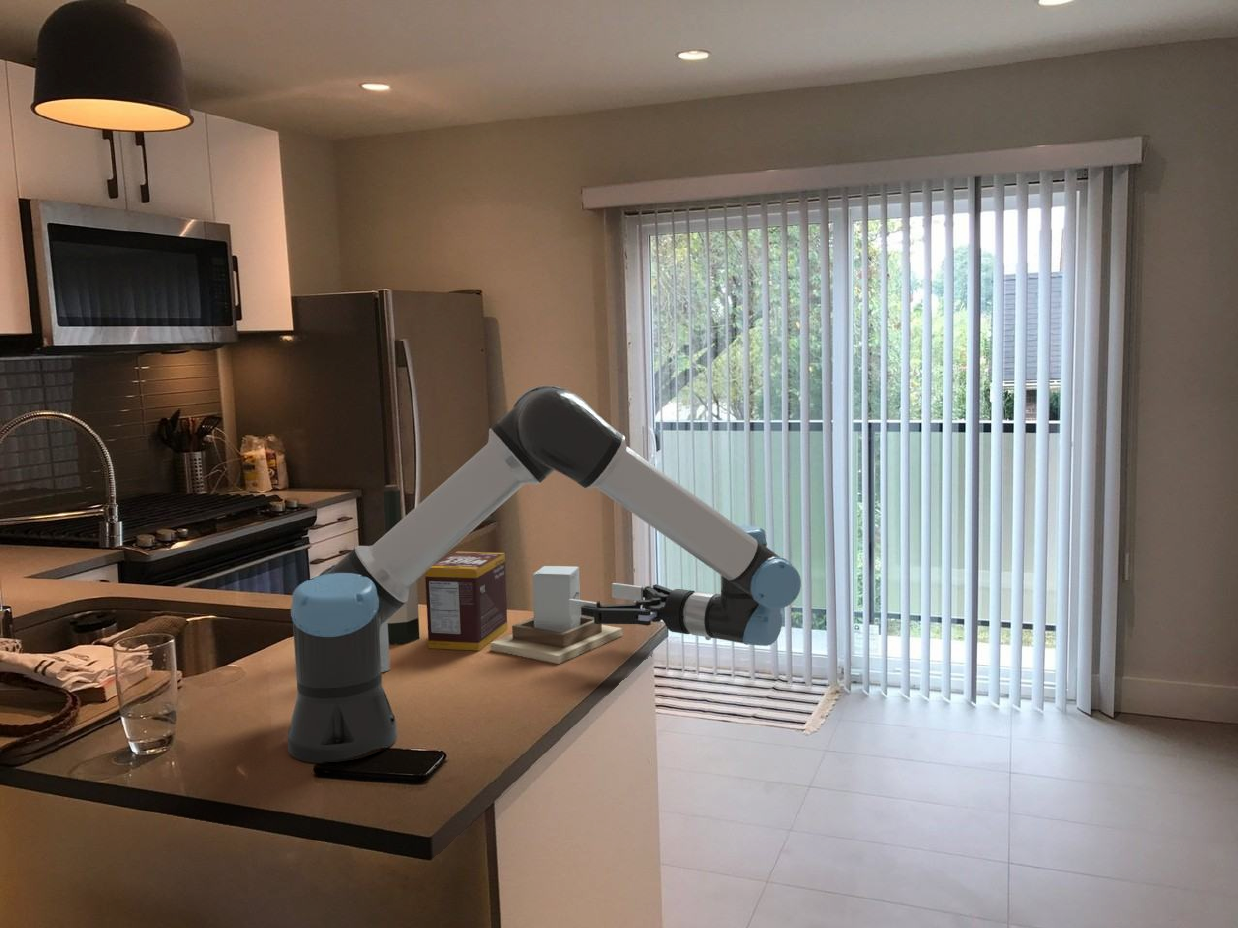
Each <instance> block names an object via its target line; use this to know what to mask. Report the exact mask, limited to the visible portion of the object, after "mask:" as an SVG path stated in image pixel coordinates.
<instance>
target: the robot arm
mask: <svg viewBox="0 0 1238 928" xmlns="http://www.w3.org/2000/svg"><path fill="white" fill-rule="evenodd" d="M486 443H487V444H486V445H484V446H483V447H482V448H481V449H480V450H479V451H477V452H476V453H475V454H474V455H473V456H472V457H471V458H470V459H469V460H468V461H466V462H465V463H463V465H461V467H459V468H458V469H457V470H456V471H455V472H454V473H453V474H452V475H451V476H449V477H448V478H447V479H446V480H445V481H444V482H442V484H440V485H439V486H438V487H437V488H435V490H434V491H432V492H431V493H430V494H429V495H428V496H426V497H425V498H424V499H423V500H422V501H421V502H420V503H419V504H418V505H417V506H416V507H414V508H413V509H412V510H411V511H410V512H409V513H407V514H406V515H405V516H404V517H403V518H401V519H402V520H401V521H400V522H399V523H397V524H396V525H395V526H394V527H393V528H392V529H391V530H390V531H388V532H387V533H386V534H385V533H384V534H385V535H382V537H380V538H379V539H377V541H376V542H375V543H374V544H373V545H357V546H355V548H353V549H352V550H351V551H350V552H348V553H347V555H345V556H344V557H343V558H342V559H340V560H339V561H338V563H336V564H333V565H331V566H330V567H328V568H325V569H324V570H323V571H322V572H320V573H319V575H317V576H314V577H312V578H311V579H308V580H305V581H303V582H301V583H300V584H299V585H297V587H295V589H294V590H293V593H292V597H291V606H290V616H291V620H292V626H293V627H292V629H293V631H292V632H293V645H294V655H295V656H294V658H295V660H294V661H295V676H296V692H297V693H296V701H295V703H294V704H295V705H294V708H293V712H292V717H291V720H290V721H291V722H290V726H289V728H288V730H287V734H286V742H287V751H288V754H289V755H290V756H292V757H293V758H294V759H296V760H299V761H302V762H307V763H313V764H314V763H315V764H324V763H323V762H325V761H327V760H338V759H347V758H351V757H354V756H358V755H361V754H365V753H367V752H369V751H371V750H375V749H380V748H387V749H389V748H390V747H392V745H394V744H395V742H396V741H397V739H398V728H397V726H398V725H397V720H396V717H395V715H394V713H393V709H392V706H391V705H390V702H389V699H388V697H387V695H386V692H385V689H384V687H383V679H382V677H383V676H382V672H381V656H380V626H381V625H382V624H383V623H384V622H385V621H386V620H387V619H388V618H389V617H391V616H392V615H393V614H394V613H395V612H396V611H397V610H398V609H399V608H400V607H402V606H403V605H404V604H405V603H406V602H407V601H408V595H409V587H410V586H411V585H412V584H413V583H414V582H415V581H416V580H417V581H418V579H419V578H421V577H422V576H423V575H425V572H426V571H427V570H429V569H430V568H431V567H432V566H433V565H434V564H435V563H436V562H438V561H440V560H441V559H443V558H444V556H445V555H446V554H448V553H449V552H450V551H452V549H453V548H455V547H456V546H457V545H458V544H459V543H460V542H461V541H462V540H463V539H464V538H466V537H467V536H468V535H469V534H470V533H471V532H472V531H474V530H475V529H476V528H477V527H478V526H479V525H480V524H481V523H483V521H485V520H486V519H487V518H488V517H489V516H491V514H493V513H494V512H495V511H496V510H497V509H498V508H499V507H500V506H502V505H503V504H504V503H505V502H506V501H507V500H508V499H509V498H510V497H512V496H513V495H514V494H515V493H517V491H518V490H519V489H521V488H522V487H523V486H525V485H540V484H541V483H542V482H543V481H544V480H545V479H546V478H547V477H549V476H550V475H551V474H552V473H553V472H554V471H556V472H558V473H560V474H562V475H564V476H565V477H567V478H569V479H571V480H573V481H574V483H577V484H578V485H580V486H581V487H583V488H584V489H586V490H589V489H597V490H599V491H600V492H602V493H603V494H605V495H606V496H607V497H609V498H610V499H611V500H613V501H615V502H616V503H618V505H620V506H621V507H623V508H625V509H626V510H627V511H629V512H630V513H632V514H633V515H634V516H636V517H637V518H639V519H640V520H642V521H643V522H644V523H646V524H647V525H649V526H651V527H652V528H653V529H655V531H657V532H658V533H660V534H661V535H663V536H665V537H666V538H667V539H669V540H670V541H672V542H673V543H674V544H676V545H677V546H679V547H680V548H681V549H683V550H684V551H686V552H687V553H689V554H690V555H692V556H693V557H694V558H695V559H698V560H699V561H701V562H702V563H704V564H705V565H706V566H707V567H709V568H710V569H711V570H713V571H714V572H716V573H717V574H719V575H720V593H714V592H708V591H700V590H697V591H696V590H689V589H683V588H682V589H681V588H675V589H670V588H668V587H665V586H662V585H660V584H656V583H655V584H653V585H652V586H649V585H647V586H644V587H643V586H640V585H633V584H627V583H625V584H624V583H618V582H612V583H611V596H612V598H614V599H620V600H627V601H635V602H634V603H621V604H619V603H618V604H602V602H600V600H599V601H598V600H597V601H596V602H595V601H591V600H590V601H589V600H582V599H580V600H576V599H569V615H576V616H582V617H588V618H594V623H595V624H602V625H641V626H647V627H648V626H651V624H652V623H651V622H653V623H656V622H657V623H659V622H661V621H662V622H663V624H664V625H665V627H666V628H667V629H668V631H670V632H671V633H677V634H683V635H692V636H698V637H704V638H705V640H707V641H710V640H711V639H717V640H723V641H727V642H734V643H738V644H744V645H745V646H746V645H747V646H748V645H751V646H761V647H762V646H764V647H768V646H771V645H772V644H774V643H775V642H776V641H777V640H778V638H779V636H780V633H781V631H782V627H783V626H782V625H783V614H782V611H781V609H784V608H787V607H788V606H790V605H791V604H793V603H794V601H796V599H797V598H798V596H799V594H800V592H801V587H802V581H801V576H800V574H799V571H798V570H797V569H796V567H795V566H794V565H793V564H792V563H791V562H790V561H789V560H787V559H786V558H784V557H781V556H779V555H778V554H776V553H775V552H774V551H772V550H771V549H770V548H769V547H767V546H768V543H767V538H766V537H767V536H766V531H765V530H764V529H763V528H762V527H760V526H756V525H755V526H754V525H737V524H735V523H734V522H732V521H731V520H730V519H728V518H727V517H725V516H724V515H723V514H721V513H720V512H719V511H718V510H716V509H714V508H713V507H712V506H710V505H708V504H707V503H706V502H705V501H704V500H702V499H701V498H699V497H698V496H697V495H695V494H693V493H692V492H691V491H689V490H688V489H687V488H685V487H684V486H683V485H681V484H679V482H677V481H676V480H674V479H673V478H672V477H670V475H667V474H666V473H665V472H664V471H662V470H661V469H659V468H657V467H656V466H655V465H653V464H652V463H651V462H650V461H648V460H647V459H645V458H644V457H643V456H641V455H639V454H638V453H637V452H636V451H634V450H633V449H632V448H630V447H629V446H627V443H626V437H625V435H624V434H622V433H621V432H619V430H616V429H615V428H614V427H613V426H612V425H611V424H609V422H607V421H606V420H604V418H602V416H601V415H600V414H598V413H597V412H596V411H595V410H594V409H593V408H592V407H591V406H590V405H589V404H588V403H587V401H586V400H584V399H583V398H582V397H581V396H579V395H578V394H576V393H575V392H572V391H569V390H567V389H565V388H562V387H559V386H555V385H554V386H553V385H548V386H547V385H542V386H538V387H535V388H532V389H530V390H528V391H527V392H525V393H524V394H523V395H521V396H520V397H519V398H518V399H517V400H516V403H514V405H513V407H512V409H510V410H509V411H508V412H506V413H505V414H504V416H502V418H500V419H499V420H498V421H497V422H496V423H494V424H493V425H492V426H491V427H490V428H489V430H488V442H486ZM641 607H642V608H641ZM388 747H389V748H388Z"/></svg>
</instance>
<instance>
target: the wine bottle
mask: <svg viewBox="0 0 1238 928" xmlns="http://www.w3.org/2000/svg"><path fill="white" fill-rule="evenodd" d="M382 496H383V497H382V498H383V514H384V535H385V534H386V533H387V532H388V531H390V530H391V529H392V528H393V527H394V526H395V525H396V524H397V523H399V522H400V521H401V520H402V519H403V518H402V505H401V504H402V502H401V489H400V488H398V485H397V484H387V485H385V486H384V489H382ZM384 535H383V536H384ZM418 601H419V599H418V579H417V580H416V581H415V582H414V583H413V584H412V585H411V586H410V587H409V595H408V601H407V602H406V603H405V604H404V605H403V606H402V607H400V608H399V609H398V610H397V611H396V612H395V613H394V614H393V615H392V616H391V617H389V618H388V619H387V623H388V642H389V646H392V645H401V644H403V645H404V644H410V643H412V642H415V641H417V640H420V619H419V616H420V615H419V602H418Z"/></svg>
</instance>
